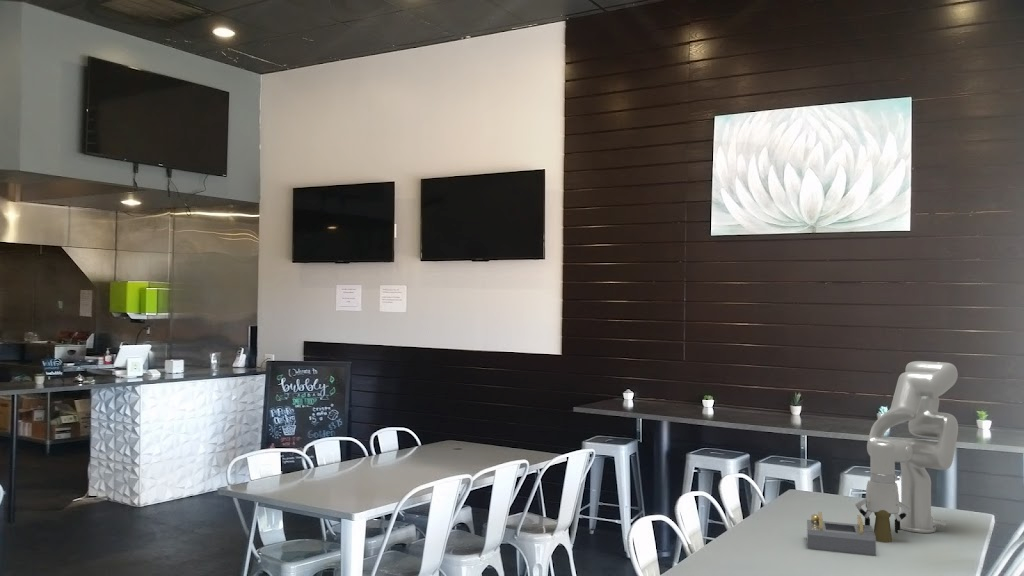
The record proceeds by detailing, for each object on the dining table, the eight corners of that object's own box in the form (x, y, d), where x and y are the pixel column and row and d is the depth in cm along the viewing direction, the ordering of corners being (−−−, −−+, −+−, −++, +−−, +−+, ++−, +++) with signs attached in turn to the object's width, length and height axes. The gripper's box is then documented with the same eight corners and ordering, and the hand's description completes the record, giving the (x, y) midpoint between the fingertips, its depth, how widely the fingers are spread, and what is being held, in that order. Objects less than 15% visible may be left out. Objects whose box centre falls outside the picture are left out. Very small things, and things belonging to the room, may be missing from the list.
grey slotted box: (871, 544, 265) (871, 514, 265) (875, 555, 252) (875, 525, 252) (806, 537, 271) (807, 509, 272) (807, 548, 258) (807, 518, 258)
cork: (894, 543, 267) (894, 509, 267) (874, 541, 268) (875, 508, 268) (889, 538, 272) (889, 505, 273) (870, 536, 274) (870, 504, 274)
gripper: (909, 478, 272) (909, 530, 271) (853, 474, 277) (853, 525, 277) (912, 482, 264) (912, 536, 264) (855, 478, 270) (855, 530, 269)
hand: (882, 530), depth 270 cm, fingers open, 8 cm apart
